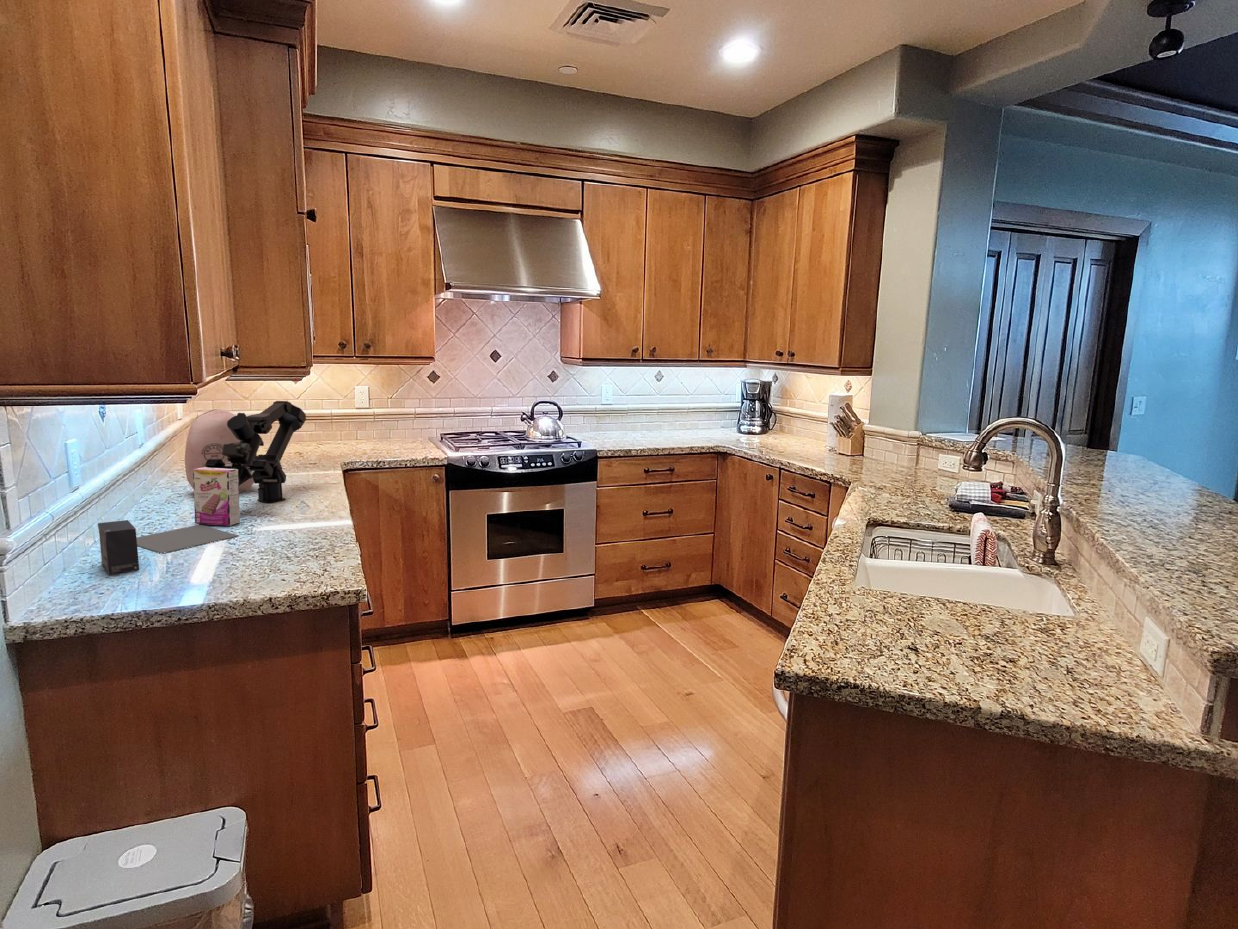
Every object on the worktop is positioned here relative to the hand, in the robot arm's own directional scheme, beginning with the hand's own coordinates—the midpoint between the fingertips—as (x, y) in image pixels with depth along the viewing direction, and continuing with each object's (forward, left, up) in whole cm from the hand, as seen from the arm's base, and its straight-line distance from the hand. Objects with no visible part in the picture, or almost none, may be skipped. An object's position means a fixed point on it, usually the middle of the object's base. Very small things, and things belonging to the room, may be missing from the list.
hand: (230, 490), depth 212 cm
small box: (+40, +24, -9) cm, 48 cm away
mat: (+20, +11, -9) cm, 24 cm away
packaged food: (-18, -35, -9) cm, 40 cm away
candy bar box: (+6, +4, -9) cm, 11 cm away
